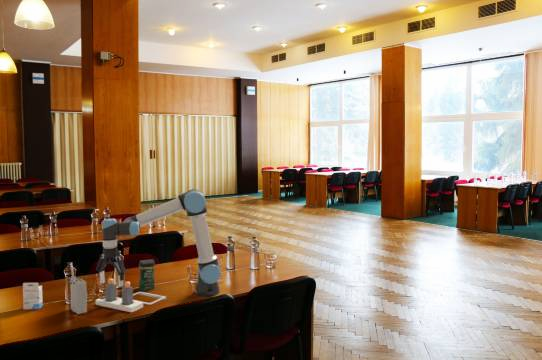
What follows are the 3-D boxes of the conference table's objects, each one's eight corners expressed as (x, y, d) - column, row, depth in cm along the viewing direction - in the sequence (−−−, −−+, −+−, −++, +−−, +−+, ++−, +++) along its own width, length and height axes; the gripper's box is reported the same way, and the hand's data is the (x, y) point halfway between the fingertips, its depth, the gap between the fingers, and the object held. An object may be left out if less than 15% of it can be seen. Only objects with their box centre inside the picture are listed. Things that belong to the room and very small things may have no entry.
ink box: (43, 306, 257) (42, 280, 256) (39, 309, 252) (38, 282, 251) (27, 306, 256) (26, 280, 255) (23, 309, 251) (22, 283, 250)
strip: (143, 308, 254) (143, 301, 254) (131, 314, 246) (131, 306, 246) (107, 301, 266) (107, 294, 265) (95, 306, 257) (95, 298, 257)
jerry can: (68, 307, 255) (67, 263, 253) (78, 305, 258) (77, 261, 256) (77, 316, 243) (76, 269, 241) (87, 314, 246) (86, 267, 244)
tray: (166, 299, 270) (166, 296, 270) (150, 306, 258) (150, 303, 258) (139, 293, 279) (139, 291, 279) (122, 300, 267) (122, 298, 266)
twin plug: (132, 307, 254) (132, 281, 253) (127, 309, 251) (127, 283, 249) (127, 305, 256) (127, 280, 255) (122, 308, 252) (121, 282, 251)
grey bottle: (116, 303, 259) (116, 278, 258) (111, 305, 256) (110, 280, 255) (111, 302, 261) (110, 278, 260) (105, 304, 257) (105, 279, 256)
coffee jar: (140, 292, 282) (140, 262, 281) (137, 288, 289) (137, 259, 288) (156, 290, 287) (156, 260, 285) (153, 286, 294) (153, 257, 292)
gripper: (132, 247, 254) (133, 285, 256) (98, 243, 265) (100, 280, 266) (122, 250, 247) (123, 289, 249) (88, 246, 258) (89, 283, 260)
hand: (111, 284), depth 258 cm, fingers open, 13 cm apart
